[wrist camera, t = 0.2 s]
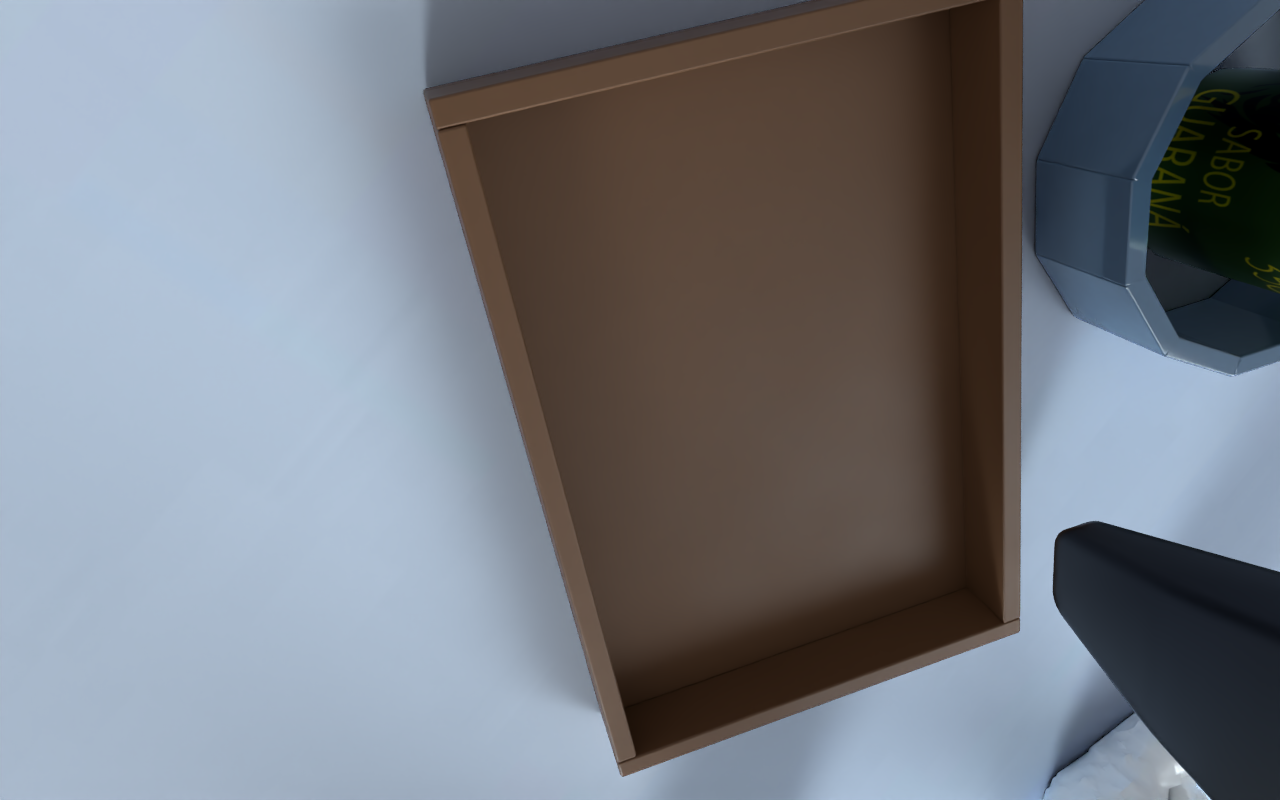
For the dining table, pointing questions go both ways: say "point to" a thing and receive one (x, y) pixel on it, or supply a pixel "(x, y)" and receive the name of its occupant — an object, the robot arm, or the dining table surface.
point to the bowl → (1143, 185)
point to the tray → (761, 347)
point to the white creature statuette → (1125, 770)
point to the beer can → (1223, 180)
